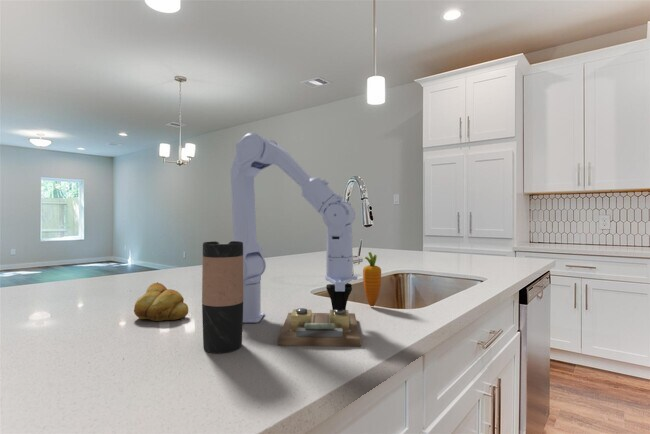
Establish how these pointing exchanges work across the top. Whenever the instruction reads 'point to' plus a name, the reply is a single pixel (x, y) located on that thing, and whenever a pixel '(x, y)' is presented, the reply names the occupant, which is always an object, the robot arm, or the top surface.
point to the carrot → (372, 280)
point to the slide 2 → (340, 318)
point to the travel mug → (222, 296)
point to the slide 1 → (300, 318)
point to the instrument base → (320, 332)
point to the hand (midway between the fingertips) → (338, 317)
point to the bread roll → (160, 304)
